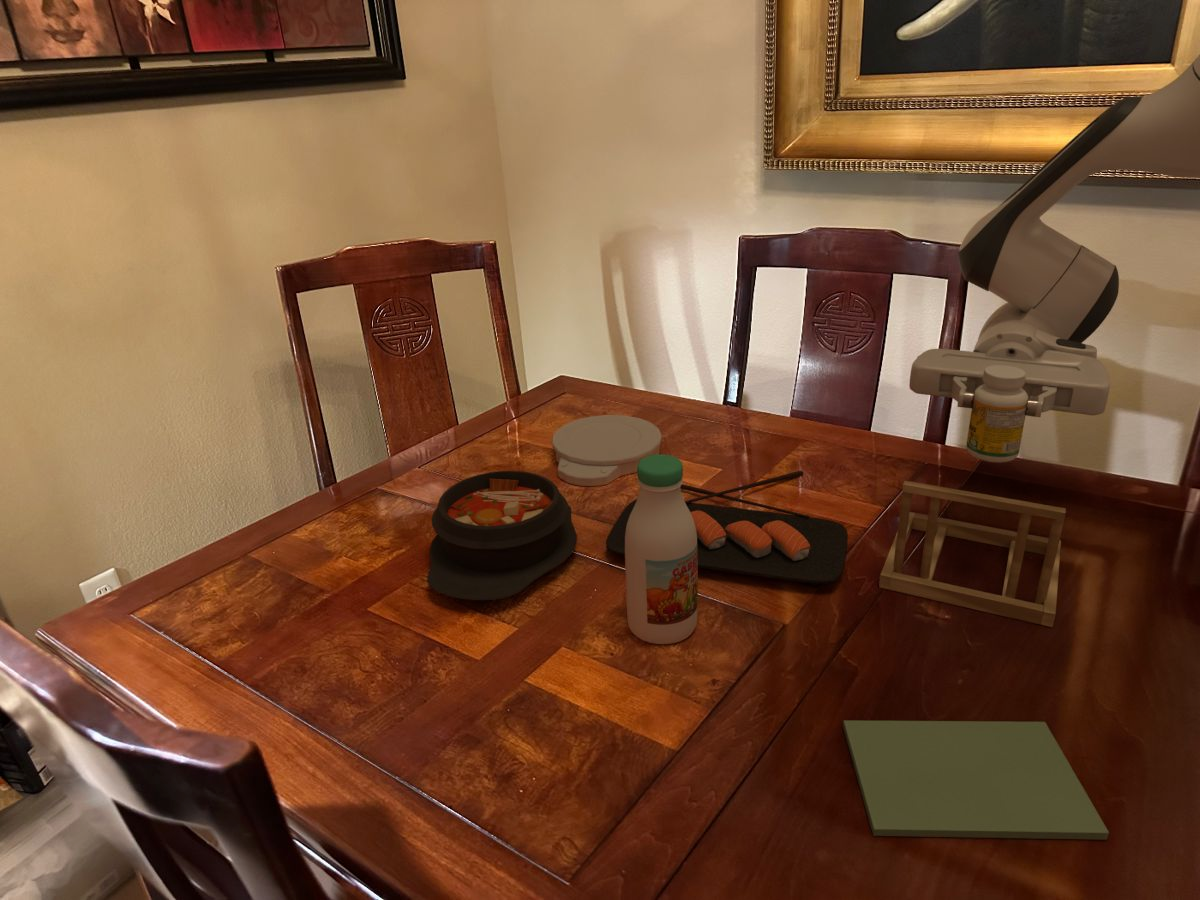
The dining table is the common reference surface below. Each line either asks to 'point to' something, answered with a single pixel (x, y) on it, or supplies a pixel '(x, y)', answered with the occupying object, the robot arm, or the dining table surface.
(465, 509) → the casserole
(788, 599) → the dining table surface
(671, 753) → the dining table surface
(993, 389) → the supplement bottle
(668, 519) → the milk bottle
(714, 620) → the dining table surface
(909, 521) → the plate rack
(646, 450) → the kitchen scale
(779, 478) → the sushi plate
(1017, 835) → the mat
